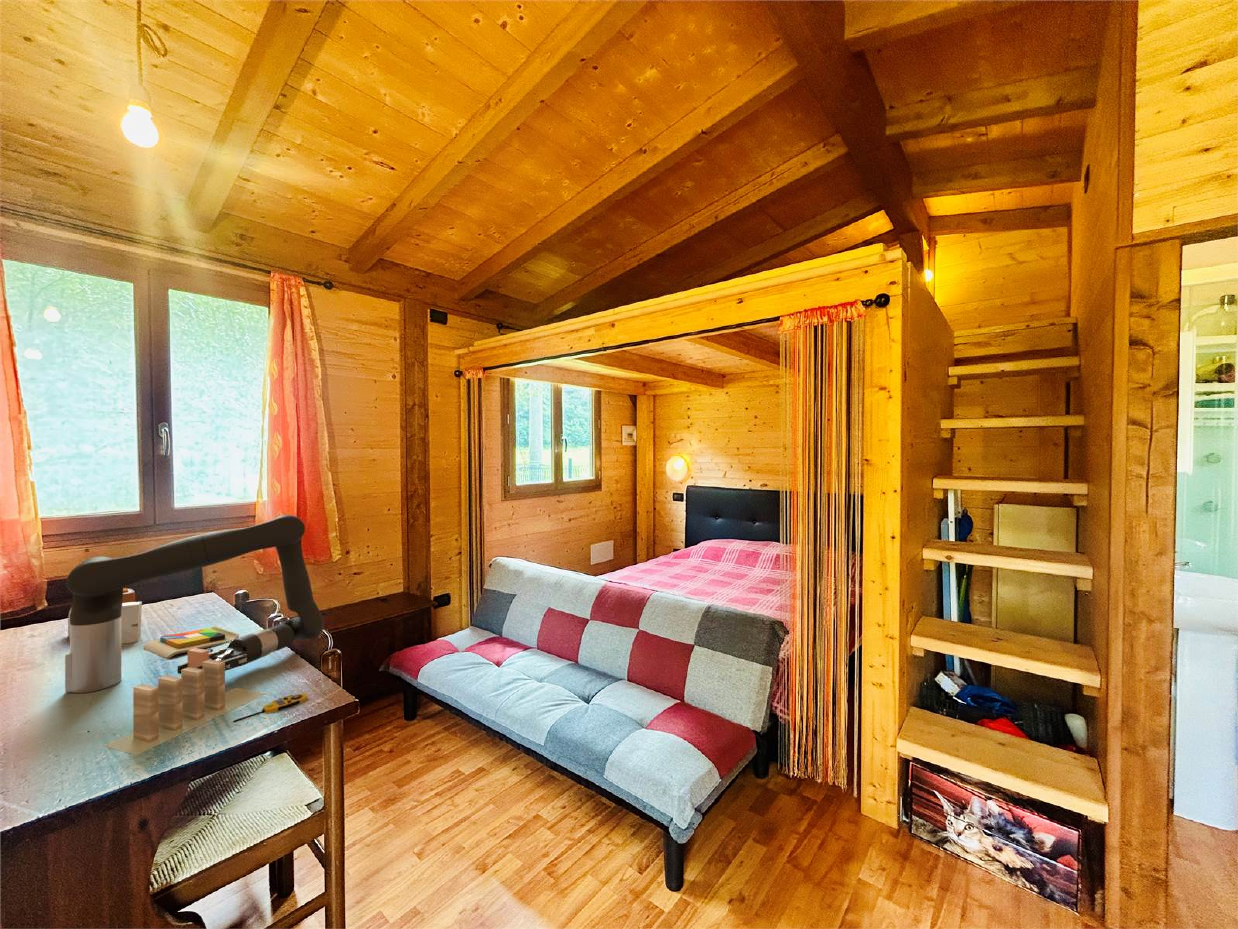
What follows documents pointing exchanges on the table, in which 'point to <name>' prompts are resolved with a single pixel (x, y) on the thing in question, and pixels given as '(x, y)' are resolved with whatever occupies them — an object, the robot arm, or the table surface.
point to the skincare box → (131, 622)
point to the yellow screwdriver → (280, 704)
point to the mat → (185, 723)
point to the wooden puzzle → (189, 641)
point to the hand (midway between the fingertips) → (186, 671)
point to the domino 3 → (197, 657)
